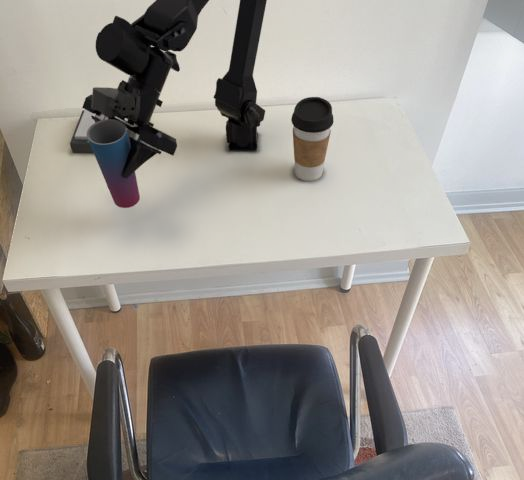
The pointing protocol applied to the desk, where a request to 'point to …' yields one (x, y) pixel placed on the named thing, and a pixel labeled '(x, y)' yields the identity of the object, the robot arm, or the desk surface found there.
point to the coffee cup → (311, 136)
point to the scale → (79, 137)
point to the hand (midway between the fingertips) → (112, 170)
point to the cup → (114, 160)
